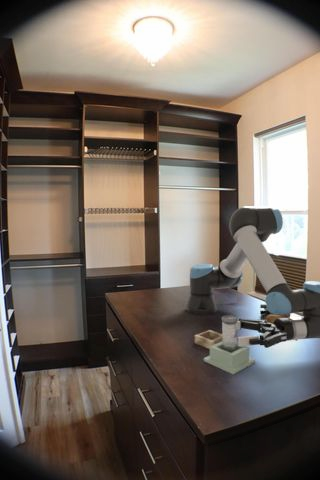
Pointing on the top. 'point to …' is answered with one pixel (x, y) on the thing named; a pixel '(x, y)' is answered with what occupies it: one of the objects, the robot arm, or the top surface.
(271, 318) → the lion figurine
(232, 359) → the socket
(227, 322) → the silver capped cylinder
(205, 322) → the top surface
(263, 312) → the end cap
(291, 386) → the top surface
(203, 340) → the mount
